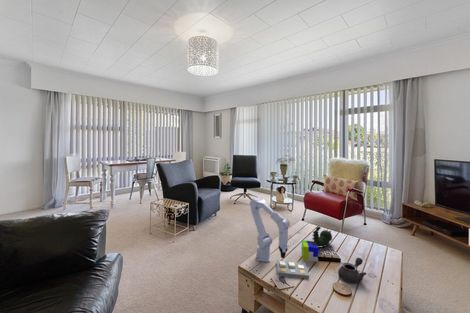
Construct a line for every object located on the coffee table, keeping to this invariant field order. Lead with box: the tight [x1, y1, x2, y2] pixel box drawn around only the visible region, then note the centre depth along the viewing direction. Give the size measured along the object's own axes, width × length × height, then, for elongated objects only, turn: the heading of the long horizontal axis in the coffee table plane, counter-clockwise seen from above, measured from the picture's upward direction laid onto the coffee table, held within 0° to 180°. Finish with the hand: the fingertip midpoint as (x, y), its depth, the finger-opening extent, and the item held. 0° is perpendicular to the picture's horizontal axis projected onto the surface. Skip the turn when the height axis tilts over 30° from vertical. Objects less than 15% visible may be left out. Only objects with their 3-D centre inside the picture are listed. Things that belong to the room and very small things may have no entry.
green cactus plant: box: [312, 225, 333, 247], centre depth 171 cm, size 9×19×25 cm
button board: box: [276, 259, 310, 279], centre depth 137 cm, size 19×14×2 cm
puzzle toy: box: [301, 239, 319, 262], centre depth 153 cm, size 10×10×10 cm
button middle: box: [289, 261, 295, 268], centre depth 138 cm, size 4×4×2 cm
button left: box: [280, 260, 286, 267], centre depth 139 cm, size 4×4×2 cm
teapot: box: [337, 257, 367, 284], centre depth 130 cm, size 19×15×10 cm
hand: (282, 257), depth 139 cm, fingers closed
